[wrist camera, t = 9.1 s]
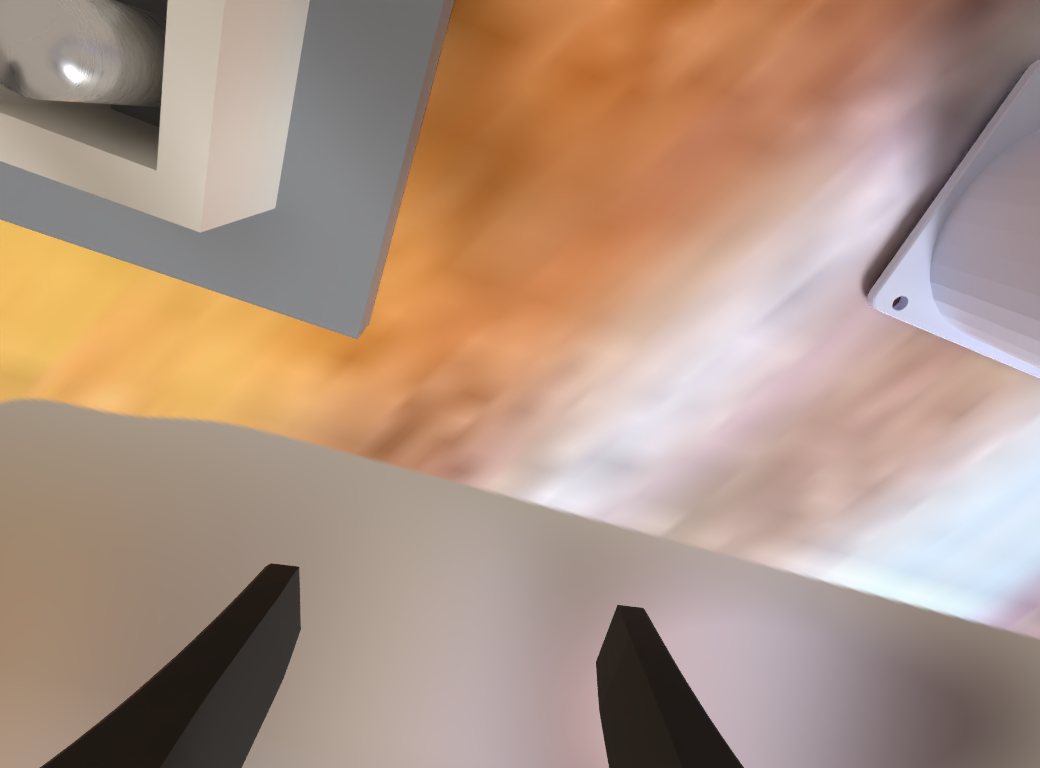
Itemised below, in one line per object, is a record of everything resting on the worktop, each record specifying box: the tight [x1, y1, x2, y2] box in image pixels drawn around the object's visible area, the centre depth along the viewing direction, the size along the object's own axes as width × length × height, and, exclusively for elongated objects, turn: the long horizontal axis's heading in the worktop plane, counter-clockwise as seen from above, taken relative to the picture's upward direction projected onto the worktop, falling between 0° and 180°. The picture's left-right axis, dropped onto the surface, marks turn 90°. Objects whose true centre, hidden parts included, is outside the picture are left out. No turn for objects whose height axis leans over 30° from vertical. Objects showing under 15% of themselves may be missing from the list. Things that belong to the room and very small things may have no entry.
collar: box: [0, 0, 310, 233], centre depth 12 cm, size 6×6×4 cm
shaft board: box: [0, 0, 454, 339], centre depth 12 cm, size 14×12×6 cm
